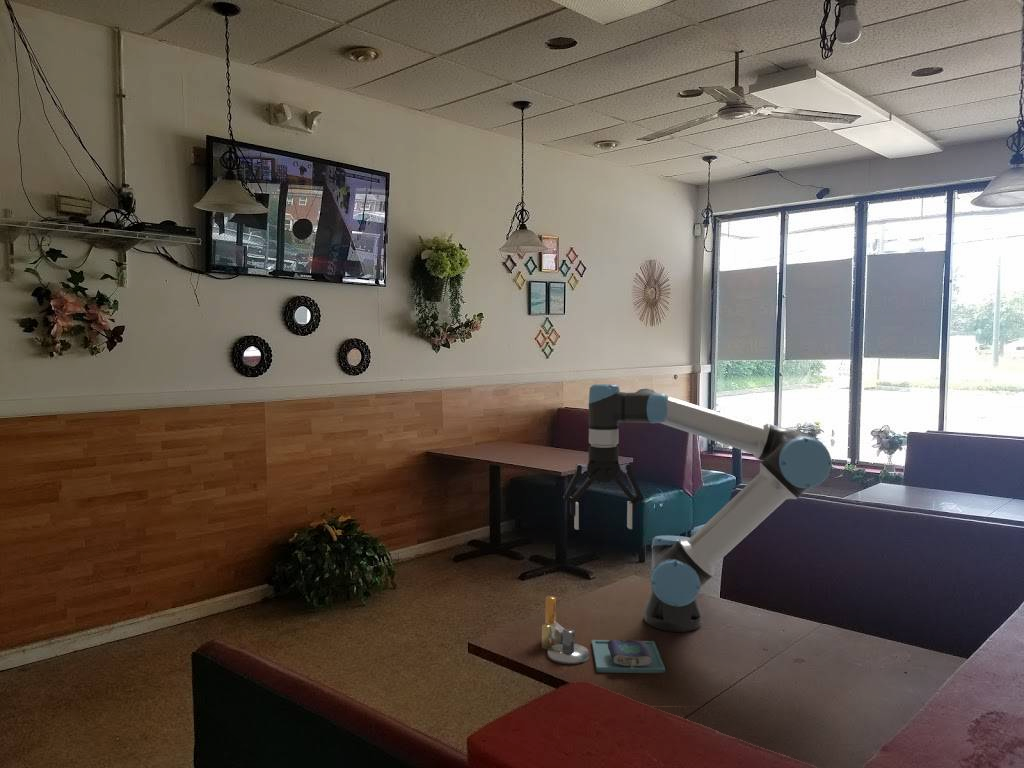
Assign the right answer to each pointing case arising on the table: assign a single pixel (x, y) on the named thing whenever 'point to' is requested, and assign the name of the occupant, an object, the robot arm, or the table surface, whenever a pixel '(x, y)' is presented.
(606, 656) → the tray
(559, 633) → the crank
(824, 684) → the table surface
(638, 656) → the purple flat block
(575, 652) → the crank base
